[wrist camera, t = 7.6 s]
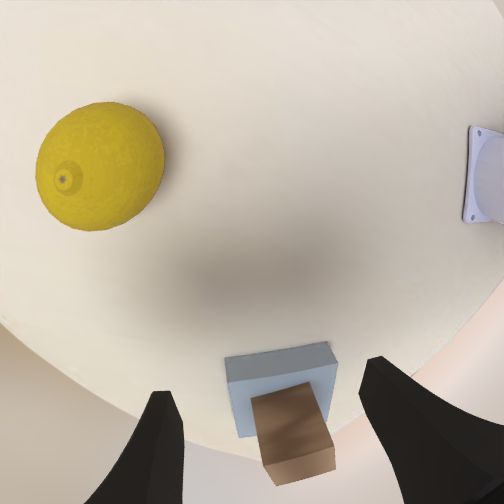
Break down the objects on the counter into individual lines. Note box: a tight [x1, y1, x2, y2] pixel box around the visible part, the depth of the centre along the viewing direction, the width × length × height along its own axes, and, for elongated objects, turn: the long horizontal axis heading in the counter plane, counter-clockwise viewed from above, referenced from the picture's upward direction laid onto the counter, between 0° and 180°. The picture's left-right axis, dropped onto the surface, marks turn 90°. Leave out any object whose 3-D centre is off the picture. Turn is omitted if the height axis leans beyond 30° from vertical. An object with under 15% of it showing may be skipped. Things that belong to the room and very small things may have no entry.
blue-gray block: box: [225, 342, 338, 438], centre depth 22 cm, size 8×8×3 cm
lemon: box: [35, 102, 165, 231], centre depth 11 cm, size 6×6×8 cm
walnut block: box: [250, 382, 336, 486], centre depth 18 cm, size 4×4×6 cm
